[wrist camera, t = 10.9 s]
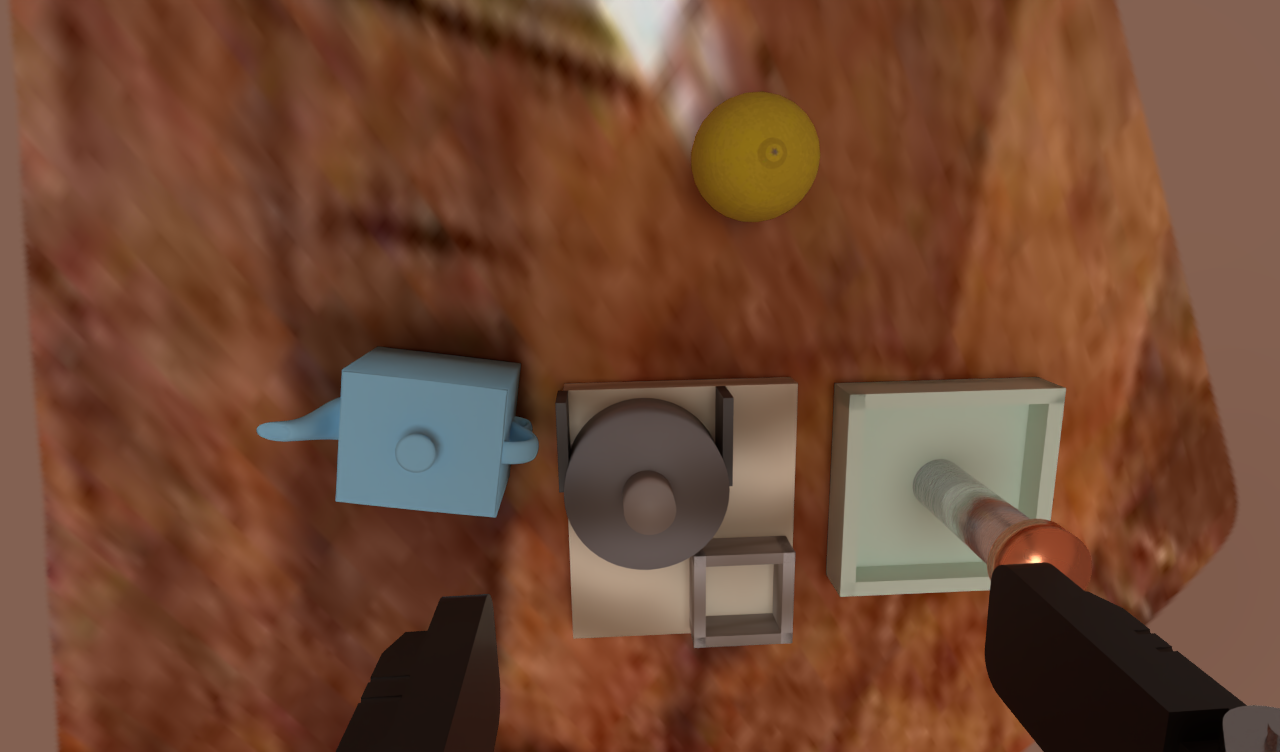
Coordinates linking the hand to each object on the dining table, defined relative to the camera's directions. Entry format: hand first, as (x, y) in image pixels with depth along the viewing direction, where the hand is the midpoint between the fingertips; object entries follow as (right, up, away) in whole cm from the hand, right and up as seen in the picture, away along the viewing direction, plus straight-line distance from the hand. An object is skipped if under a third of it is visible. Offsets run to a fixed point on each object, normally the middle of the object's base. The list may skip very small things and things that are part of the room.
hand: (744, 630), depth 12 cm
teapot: (-13, +3, +27) cm, 30 cm away
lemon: (+3, +15, +25) cm, 29 cm away
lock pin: (+15, -2, +29) cm, 32 cm away
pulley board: (+1, -3, +29) cm, 29 cm away
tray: (+14, -2, +30) cm, 33 cm away
